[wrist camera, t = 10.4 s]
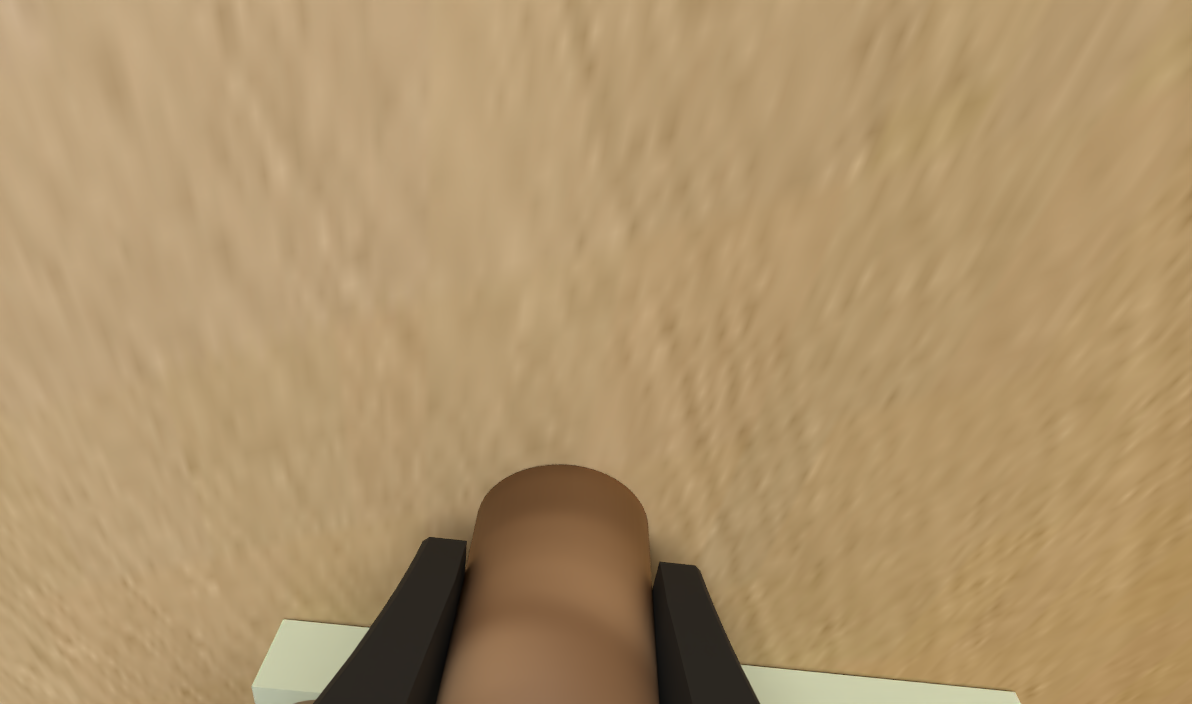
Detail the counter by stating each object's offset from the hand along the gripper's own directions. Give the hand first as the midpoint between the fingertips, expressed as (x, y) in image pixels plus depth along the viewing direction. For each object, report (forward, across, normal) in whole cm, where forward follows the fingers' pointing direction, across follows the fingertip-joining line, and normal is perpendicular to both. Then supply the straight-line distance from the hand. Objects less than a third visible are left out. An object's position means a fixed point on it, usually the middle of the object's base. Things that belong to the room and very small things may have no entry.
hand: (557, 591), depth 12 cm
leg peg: (+1, 0, 0) cm, 1 cm away
